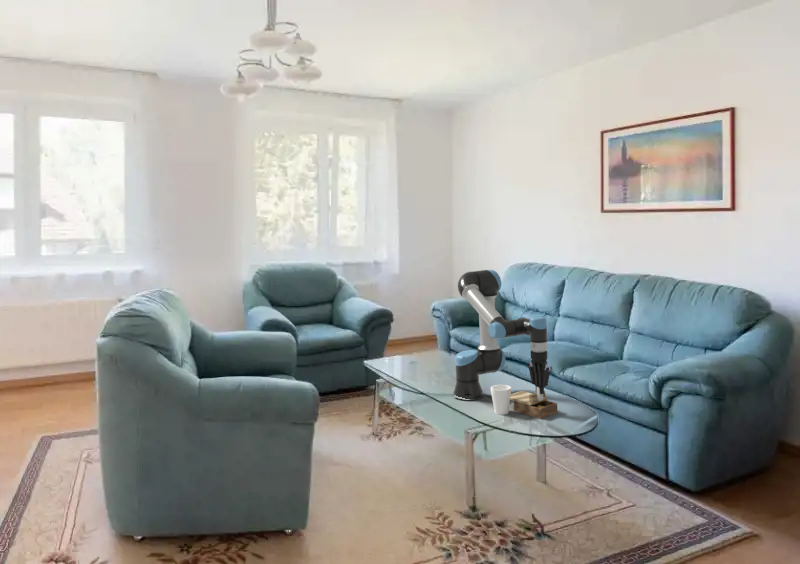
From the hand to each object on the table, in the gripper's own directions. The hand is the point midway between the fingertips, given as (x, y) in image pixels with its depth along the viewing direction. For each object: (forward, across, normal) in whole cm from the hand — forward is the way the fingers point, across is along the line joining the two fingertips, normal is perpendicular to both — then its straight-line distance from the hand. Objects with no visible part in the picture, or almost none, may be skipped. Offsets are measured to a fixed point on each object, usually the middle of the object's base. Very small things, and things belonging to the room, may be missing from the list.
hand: (540, 400), depth 278 cm
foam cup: (+8, -13, -12) cm, 19 cm away
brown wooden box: (+7, -3, 0) cm, 8 cm away
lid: (+1, -9, 0) cm, 9 cm away
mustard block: (+6, +1, 0) cm, 6 cm away
